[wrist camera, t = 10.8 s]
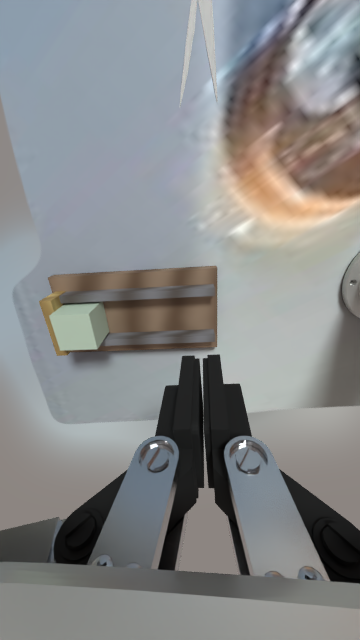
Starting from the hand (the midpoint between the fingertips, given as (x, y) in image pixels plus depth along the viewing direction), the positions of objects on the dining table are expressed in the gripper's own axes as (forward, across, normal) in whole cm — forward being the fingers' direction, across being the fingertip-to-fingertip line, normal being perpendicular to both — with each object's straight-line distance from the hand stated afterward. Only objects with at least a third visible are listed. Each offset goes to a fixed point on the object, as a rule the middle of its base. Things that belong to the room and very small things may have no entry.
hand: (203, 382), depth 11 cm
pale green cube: (+22, +17, +5) cm, 28 cm away
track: (+24, +10, +5) cm, 26 cm away
